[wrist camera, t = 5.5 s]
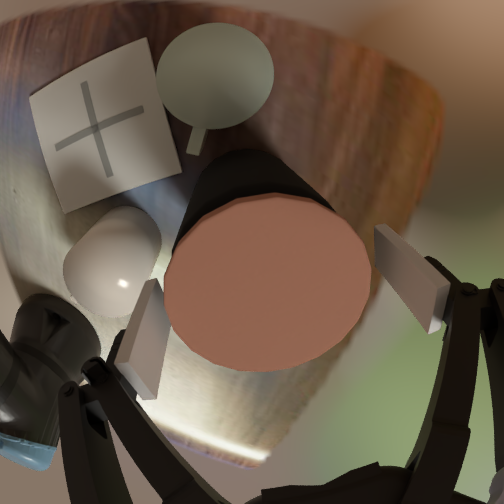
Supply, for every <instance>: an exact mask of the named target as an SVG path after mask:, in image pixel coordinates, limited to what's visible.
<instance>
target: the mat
mask: <svg viewBox="0 0 504 504" xmlns="http://www.w3.org/2000/svg"><path fill="white" fill-rule="evenodd" d="M29 100H30V105H31V109H32V114H33V118H34V122H35V126H36V130H37V134H38V138H39V142H40V145H41V149H42V152H43V155H44V159H45V162H46V165H47V168H48V171H49V174H50V177H51V180H52V183H53V186H54V189H55V191H56V194H57V197H58V199H59V202H60V205H61V207H62V210H63V212H64V214H67V213H69V212H71V211H74V210H76V209H79V208H81V207H84V206H86V205H89V204H91V203H94V202H96V201H99V200H102V199H104V198H107V197H110V196H112V195H115V194H118V193H121V192H123V191H126V190H129V189H132V188H135V187H138V186H141V185H144V184H147V183H150V182H153V181H156V180H159V179H162V178H165V177H168V176H172V175H175V174H178V173H182V172H183V170H182V166H181V163H180V160H179V156H178V153H177V149H176V146H175V142H174V139H173V135H172V132H171V128H170V125H169V121H168V117H167V114H166V110H165V106H164V104H163V102H162V100H161V98H160V96H159V93H158V90H157V85H156V72H155V68H154V64H153V60H152V56H151V52H150V47H149V43H148V39H147V38H146V37H145V38H142V39H139V40H137V41H134V42H132V43H129V44H127V45H124V46H122V47H120V48H117V49H115V50H113V51H111V52H108V53H106V54H104V55H102V56H100V57H98V58H96V59H94V60H92V61H90V62H88V63H86V64H84V65H82V66H80V67H78V68H76V69H74V70H73V71H71V72H69V73H67V74H66V75H64V76H62V77H60V78H59V79H57V80H55V81H54V82H52V83H50V84H49V85H47V86H46V87H44V88H43V89H41V90H39V91H38V92H36V93H35V94H33V95H32V96H31V97H29Z"/></svg>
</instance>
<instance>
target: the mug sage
mask: <svg viewBox="0 0 504 504" xmlns="http://www.w3.org/2000/svg"><path fill="white" fill-rule="evenodd" d="M273 80H274V67H273V62H272V59H271V56H270V54H269V52H268V50H267V48H266V47H265V45H264V44H263V43H262V42H261V40H260V39H259V38H258V37H256V36H255V35H254V34H253V33H251V32H249V31H248V30H246V29H244V28H242V27H239V26H236V25H233V24H227V23H207V24H202V25H199V26H196V27H193V28H191V29H189V30H187V31H185V32H183V33H182V34H180V35H179V36H178V37H176V38H175V39H174V40H173V41H172V42H171V43H170V44H169V45H168V47H167V48H166V49H165V51H164V52H163V54H162V56H161V58H160V61H159V63H158V67H157V73H156V85H157V90H158V93H159V96H160V98H161V100H162V102H163V104H164V105H165V107H166V108H167V109H168V111H169V112H170V113H171V114H172V115H174V116H175V117H176V118H177V119H179V120H181V121H182V122H184V123H186V124H188V125H191V126H193V128H192V132H191V135H190V139H189V143H188V147H187V150H186V153H188V154H193V155H197V156H199V155H200V153H201V151H202V150H203V148H204V144H205V141H206V137H207V134H208V130H209V129H221V128H227V127H231V126H234V125H237V124H239V123H241V122H243V121H245V120H246V119H248V118H250V117H251V116H252V115H254V114H255V113H256V112H257V111H258V110H259V109H260V108H261V107H262V105H263V104H264V103H265V101H266V100H267V98H268V96H269V94H270V91H271V89H272V85H273Z"/></svg>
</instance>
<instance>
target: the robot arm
mask: <svg viewBox="0 0 504 504" xmlns="http://www.w3.org/2000/svg"><path fill="white" fill-rule="evenodd" d="M374 242H375V266H376V268H377V269H378V270H379V271H380V272H381V274H382V275H383V276H384V277H385V279H386V280H387V281H388V282H389V284H390V285H391V286H392V287H393V289H394V290H395V291H396V292H397V294H398V295H399V296H400V298H401V299H402V300H403V301H404V303H405V304H406V305H407V307H409V309H410V311H411V312H412V313H413V315H414V316H415V317H416V319H417V320H418V321H419V322H420V324H421V325H422V327H423V328H424V330H425V331H426V332H427V334H430V333H433V332H435V331H437V330H439V329H440V328H441V324H442V321H444V322H445V323H446V325H447V326H446V330H445V333H444V337H443V347H442V352H441V357H440V362H439V367H438V371H437V375H436V379H435V384H434V387H433V391H432V395H431V398H430V402H429V405H428V409H427V412H426V415H425V418H424V421H423V424H422V427H421V430H420V433H419V436H418V439H417V441H416V444H415V447H414V449H413V451H412V453H411V455H410V457H409V460H408V461H407V464H406V466H405V468H402V467H397V466H379V463H378V462H375V463H372V464H369V465H366V466H363V467H360V468H357V469H354V470H351V471H349V472H347V473H346V474H343V475H341V476H340V477H338V478H336V479H334V480H332V481H330V482H328V483H326V484H324V485H318V486H317V485H316V486H315V485H314V486H304V485H302V486H301V485H300V486H298V485H289V486H283V487H276V488H270V489H262V490H261V494H262V495H260V496H257V497H255V498H253V499H251V500H249V501H248V502H246V503H245V504H504V279H500V278H498V279H494V280H493V281H492V283H491V286H490V288H487V289H478V287H477V286H475V285H474V284H471V283H461V282H460V281H459V280H458V279H457V278H456V277H455V276H454V275H453V274H452V273H451V272H450V271H449V270H447V269H446V268H445V267H444V266H442V264H441V263H440V262H439V261H438V260H436V259H434V258H432V257H430V256H426V257H423V256H421V255H420V254H419V253H418V252H417V251H416V250H415V249H414V248H413V247H412V246H410V245H409V244H408V243H407V242H406V241H405V240H404V239H402V238H401V237H400V236H399V235H398V234H397V233H396V232H394V231H393V230H392V229H391V228H390V227H388V226H387V225H386V224H381V225H377V226H374ZM170 327H171V323H170V320H169V318H168V315H167V312H166V310H165V307H164V293H163V291H162V289H161V286H160V284H159V282H158V280H157V278H155V279H151V280H147V281H145V283H144V286H143V288H142V290H141V293H140V295H139V298H138V300H137V303H136V305H135V308H134V310H133V313H132V315H131V318H130V320H129V323H128V326H127V328H126V329H123V330H121V331H120V332H119V333H118V334H117V336H116V337H115V339H114V342H113V345H112V347H111V351H110V352H109V355H108V358H107V360H106V363H105V361H104V360H103V359H102V358H101V357H100V353H101V345H100V341H99V338H98V335H97V333H96V332H95V330H94V328H93V327H92V325H91V324H90V323H89V321H88V320H87V319H86V318H85V317H84V316H83V315H82V314H81V313H80V312H79V311H78V310H76V309H75V308H74V307H72V306H71V305H70V304H68V303H66V302H65V301H63V300H61V299H59V298H57V297H54V296H51V295H46V294H35V295H32V296H30V297H28V298H27V299H26V300H25V301H24V303H23V304H22V305H21V306H20V308H19V309H18V312H17V314H16V318H15V322H14V325H13V329H12V334H11V338H10V342H8V340H7V339H6V337H5V336H4V334H3V333H2V332H1V330H0V455H2V456H3V457H5V458H7V459H9V460H11V461H13V462H15V463H18V464H20V465H22V466H25V467H27V468H30V469H33V470H37V471H43V470H46V469H47V468H48V467H49V466H50V464H51V461H52V458H53V455H54V452H55V451H56V450H57V445H58V441H59V437H60V439H61V448H62V457H63V464H64V470H65V476H66V482H67V487H68V492H69V496H70V501H71V504H133V502H132V500H131V497H130V494H129V491H128V489H127V486H126V483H125V480H124V477H123V474H122V471H121V468H120V464H119V461H118V458H117V454H116V451H115V448H114V444H113V440H112V436H111V432H110V428H109V424H108V420H109V422H110V423H111V425H112V427H113V428H114V430H115V432H116V434H117V435H118V437H119V438H120V440H121V442H122V443H123V445H124V446H125V448H126V450H127V451H128V453H129V454H130V456H131V457H132V459H133V460H134V462H135V463H136V465H137V466H138V468H139V469H140V470H141V472H142V473H143V475H144V476H145V477H146V479H147V480H148V481H149V483H150V484H151V485H152V487H153V488H154V489H155V490H156V492H157V493H158V494H159V496H160V497H161V498H162V500H163V502H162V504H231V503H230V502H228V501H227V500H226V499H224V498H223V497H222V496H221V495H220V494H219V493H218V492H217V491H215V490H214V489H213V488H212V487H211V486H210V485H209V484H208V483H207V482H206V481H205V480H204V479H203V478H202V477H201V476H200V475H199V474H198V473H197V472H196V471H195V470H194V469H193V468H192V467H191V466H190V464H188V462H187V461H186V460H185V459H184V458H183V457H182V456H181V455H180V454H179V452H178V451H177V450H176V449H175V448H174V447H173V446H172V444H171V443H170V442H169V441H168V440H167V439H166V437H165V436H164V435H163V434H162V433H161V431H160V430H159V429H158V428H157V426H156V425H155V424H154V423H153V421H152V420H151V419H150V418H149V416H148V415H147V414H146V412H145V411H144V410H143V408H142V407H141V406H140V404H139V403H138V402H137V401H136V396H137V394H138V395H139V396H140V397H141V398H142V400H151V399H157V394H158V388H159V382H160V377H161V371H162V366H163V361H164V356H165V351H166V346H167V341H168V336H169V331H170ZM480 334H481V338H482V343H483V348H484V353H485V358H486V363H487V369H488V375H489V381H490V389H491V398H492V407H493V420H494V445H495V465H496V472H497V473H496V474H495V476H494V478H493V480H492V483H491V486H490V489H489V493H490V494H491V495H490V498H489V501H488V503H485V502H482V501H479V500H476V499H474V498H471V497H469V496H466V495H464V494H461V493H459V492H456V491H454V488H455V485H456V482H457V480H458V477H459V474H460V471H461V468H462V464H463V461H464V457H465V454H466V450H467V446H468V443H469V439H470V433H471V431H470V428H468V423H469V418H470V413H471V408H472V403H473V397H474V390H475V383H476V376H477V366H478V355H479V342H480ZM84 379H85V380H86V381H87V382H88V384H85V385H83V386H79V384H80V383H81V382H82V381H83V380H84Z"/></svg>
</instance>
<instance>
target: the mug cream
mask: <svg viewBox="0 0 504 504" xmlns="http://www.w3.org/2000/svg"><path fill="white" fill-rule="evenodd" d="M161 245H162V239H161V234H160V231H159V228H158V226H157V224H156V223H155V221H154V220H153V219H152V218H151V217H150V216H149V215H148V214H147V213H146V212H144V211H142V210H140V209H138V208H135V207H131V206H120V207H116V208H113V209H111V210H110V211H108V212H107V213H106V214H105V215H104V216H103V217H102V218H101V219H100V220H99V221H98V222H97V223H96V224H95V225H94V226H93V227H92V228H91V229H90V230H89V231H88V232H87V233H86V234H85V235H84V236H83V237H82V238H81V239H80V240H79V241H78V242H77V243H76V244H75V245H74V246H73V247H72V248H71V250H70V251H69V252H68V253H67V255H66V257H65V260H64V264H63V275H64V280H65V283H66V286H67V288H68V290H69V292H70V293H71V296H70V299H71V300H72V301H73V302H74V303H75V304H77V303H79V304H80V305H81V306H83V307H84V308H85V309H87V310H88V311H90V312H92V313H94V314H97V315H99V316H103V317H108V318H118V317H123V316H126V315H128V314H130V313H131V312H133V310H134V308H135V305H136V303H137V300H138V298H139V295H140V293H141V290H142V288H143V286H144V283H145V281H147V280H149V278H150V276H151V273H152V271H153V268H154V266H155V263H156V261H157V258H158V256H159V253H160V250H161Z"/></svg>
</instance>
